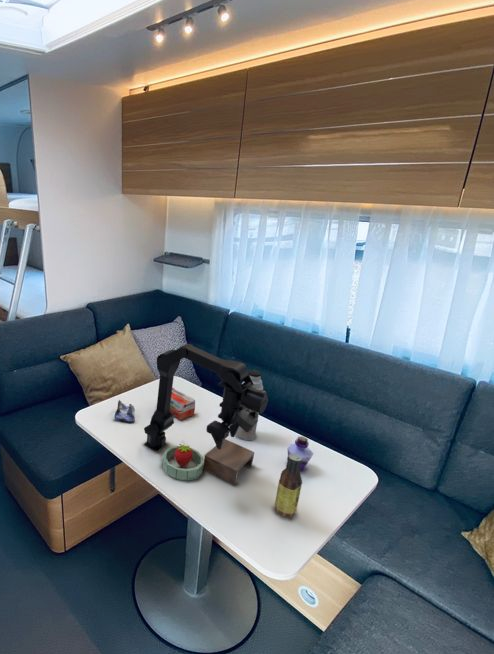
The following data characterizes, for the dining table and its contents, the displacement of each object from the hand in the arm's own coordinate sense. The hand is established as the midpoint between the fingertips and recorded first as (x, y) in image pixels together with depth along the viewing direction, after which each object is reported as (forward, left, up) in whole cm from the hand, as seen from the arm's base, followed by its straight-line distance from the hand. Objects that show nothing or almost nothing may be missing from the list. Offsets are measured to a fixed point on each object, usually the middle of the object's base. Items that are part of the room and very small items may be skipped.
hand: (225, 442), depth 135 cm
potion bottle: (+17, +25, -15) cm, 34 cm away
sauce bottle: (+22, 0, -15) cm, 26 cm away
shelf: (-1, +7, -14) cm, 16 cm away
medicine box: (-37, +27, -15) cm, 48 cm away
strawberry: (-13, -4, -15) cm, 20 cm away
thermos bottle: (-6, +31, -15) cm, 35 cm away
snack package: (-50, +8, -15) cm, 53 cm away
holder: (-13, -4, -14) cm, 20 cm away
